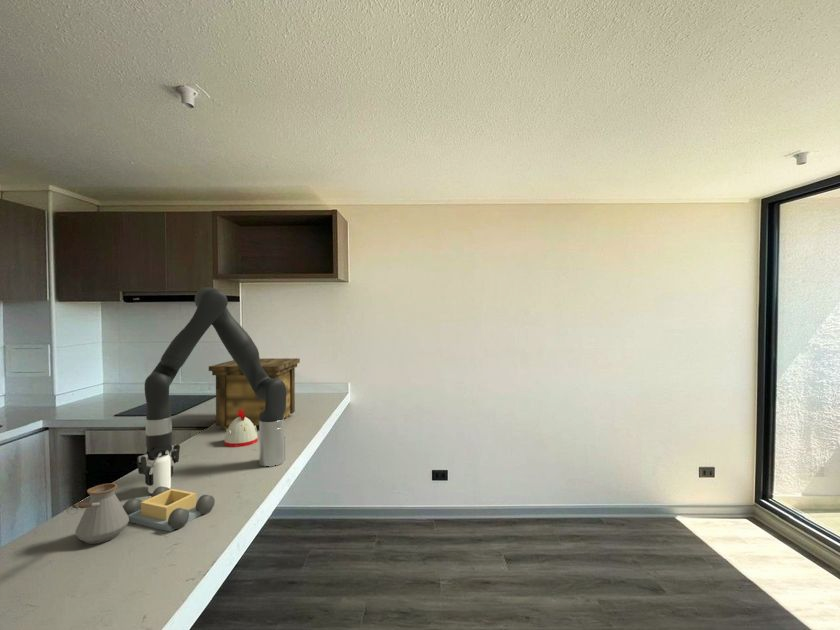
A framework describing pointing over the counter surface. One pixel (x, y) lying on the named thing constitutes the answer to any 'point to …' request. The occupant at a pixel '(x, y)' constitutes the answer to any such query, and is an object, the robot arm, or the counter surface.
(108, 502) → the coffee pot
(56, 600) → the counter surface
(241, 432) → the kitchen timer
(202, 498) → the chassis
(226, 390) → the crate
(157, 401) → the robot arm
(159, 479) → the can
